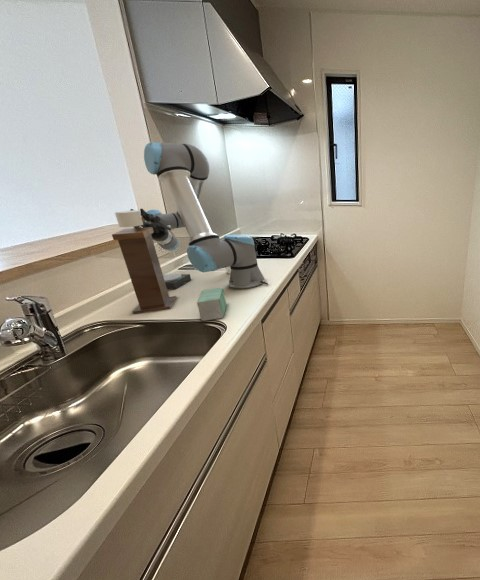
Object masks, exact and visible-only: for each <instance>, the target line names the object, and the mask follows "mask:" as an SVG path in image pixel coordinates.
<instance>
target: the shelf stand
mask: <svg viewBox="0 0 480 580" xmlns="http://www.w3.org/2000/svg"><path fill="white" fill-rule="evenodd" d="M153 232H154V231H153V227H148V228H143V227H141V228H134V227H131V228H123V229H121V230H119V231H117V232H114V233H112V234H111V236H112V240H113V241H118V244H119V248H120V251H121V254H122V257H123V261H124V262H125V266H126V269H127V273H128V276H129V278H130V282H131V284H132V287H133V291H134V293H135V296H136V300H137V302H138V304H137V306H136V307H135V308H134V309H133V310H132V314H134V315H136V314H142V313H149V312H157V311H158V312H159V311H164V310H170V309H171V308H172V307H173V305H174V303H175V302H176V300H177V299H178V298H177V295H172V296H170V295H169V291H168V289H167V287H166V284H165V280H164V277H163V275H164V274H163V271H162V267H161V264H160V259H159V256H158V253H157V250H156V246H155V243H154V242H155V241H154V240H153V239H152V235H151V234H152V233H153Z"/></svg>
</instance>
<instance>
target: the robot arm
mask: <svg viewBox="0 0 480 580" xmlns="http://www.w3.org/2000/svg"><path fill="white" fill-rule="evenodd" d="M143 149H144V150H143V161H144V165H145V168H146V171H147V172H148V173H149V174H151V175H155V176H157V179H158V180H159V182H161V183H163V184H165V186H166V188H167V191H168V193H169V194H170V197H171V199H172V201H173V203H174V206H175V208H176V212H171V213H168V212H167V213H162V212H161V211H160V210H159V209H149V210H145V209H143V208H140V209H139V211H140V215H141V216H142V217H143V218H144V219H145V220H146V221H144V222H143V225H141V226H134V227H133V228H148V227H153V231H154V232H153V233H152V234H151V235H152V239H153V242H155V243H156V244H157V245H158V246H159V247H160V248H162V249H163V250H166V251H168V252H170V251H171V252H172V251H175V250H176V249H177V248H178V247H179V240H178V238H177V237H175V235H174V233H173V231H172V230H174V229H181V228H185V230H186V232H187V234H188V236H189V238H190V239H189V241H188V247H187V249H186V254H187V258H188V260H189V262H190V264H191V266H193V268H194V269H196V271H198V272H201V273H208V272H215V271H217V270H220V269H221V270H222V269H224V268H225V269H226V267H229V266H230V268H231V272H230V274H229V278H228V279H229V280H228V284H229V287H230V288H231V289H236V290H243V289H244V290H245V289H251V288H255V287H259V286H261V285H263V284H264V285H267V286H268V285H269V283H268V282H265V277H264V275H263V273H262V271H261V269H260V268H259V265H258V259H257V253H256V247H255V246H256V244H255V241H254V238H253V237H252V236H251V235H247V234H226V235H224V236H223V239H220V236H219V234H217V233H214V232H213V230H212V227H211V225H210V224H209V221H208V218H207V217H206V215H205V212H204V210H203V208H202V205H201V203H200V201H199V200H200V197H201V194H202V189H203V186H204V183H205V181H207V180H208V178H209V175H210V163H209V161H208V158H207V157H206V155H205V154H204V153H203V151H202V150H201V149H199V148H198V147H196V146H195V145H193V144H189V143H174V142H160V141H158V142H148V143H146V144H145V146H144V148H143ZM131 210H134V209H132V208H130V209H129V211H131Z"/></svg>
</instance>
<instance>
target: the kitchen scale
mask: <svg viewBox="0 0 480 580" xmlns="http://www.w3.org/2000/svg"><path fill="white" fill-rule="evenodd" d="M163 277H164V280H165V284H166V287H167V290H176V289H178V288H180V287H182V286H183V285H186V284H187V283H188V282H190V281H192V279H191V274H190V273H183V274H181V273H167V274H163Z"/></svg>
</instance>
